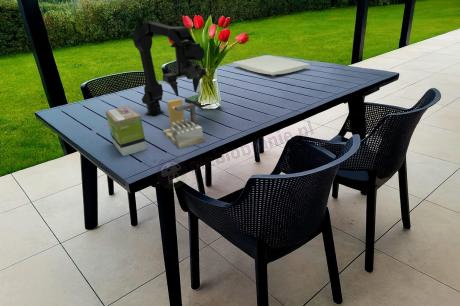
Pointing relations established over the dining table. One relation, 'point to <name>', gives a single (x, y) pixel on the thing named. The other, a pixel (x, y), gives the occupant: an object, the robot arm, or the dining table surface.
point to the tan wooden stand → (185, 129)
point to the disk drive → (195, 101)
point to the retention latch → (173, 114)
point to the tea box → (126, 130)
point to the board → (271, 65)
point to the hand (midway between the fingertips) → (186, 93)
